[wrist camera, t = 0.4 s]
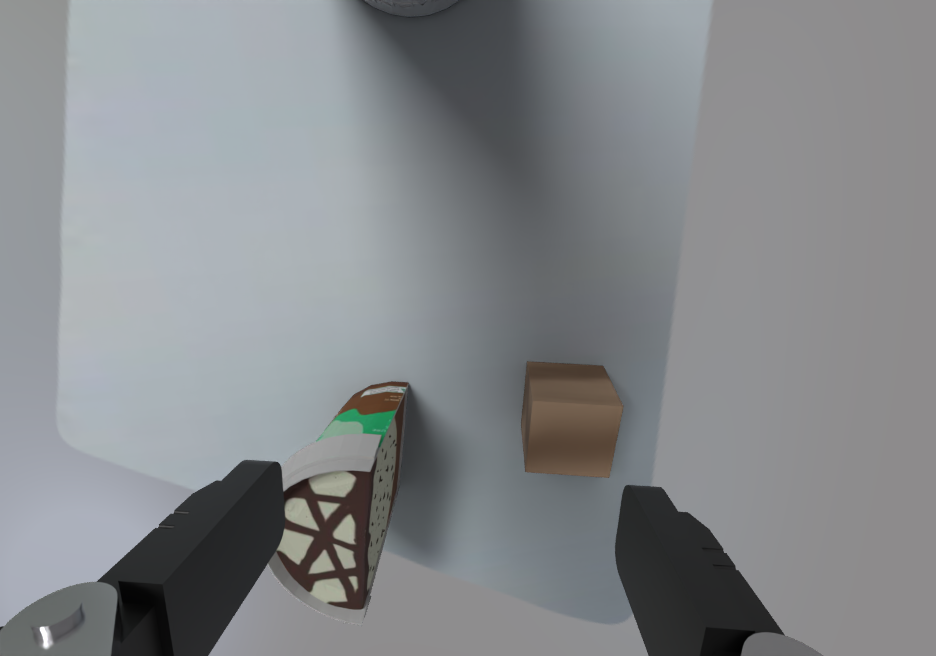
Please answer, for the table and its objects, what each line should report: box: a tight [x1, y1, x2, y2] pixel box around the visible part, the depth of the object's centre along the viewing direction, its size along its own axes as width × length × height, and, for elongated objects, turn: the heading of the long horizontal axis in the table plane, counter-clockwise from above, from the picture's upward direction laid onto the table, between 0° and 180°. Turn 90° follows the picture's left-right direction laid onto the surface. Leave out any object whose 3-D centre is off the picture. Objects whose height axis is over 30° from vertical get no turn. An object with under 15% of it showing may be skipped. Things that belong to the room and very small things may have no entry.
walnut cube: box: [521, 361, 623, 478], centre depth 27 cm, size 5×5×5 cm
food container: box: [267, 381, 409, 626], centre depth 27 cm, size 12×6×10 cm, turn 173°
